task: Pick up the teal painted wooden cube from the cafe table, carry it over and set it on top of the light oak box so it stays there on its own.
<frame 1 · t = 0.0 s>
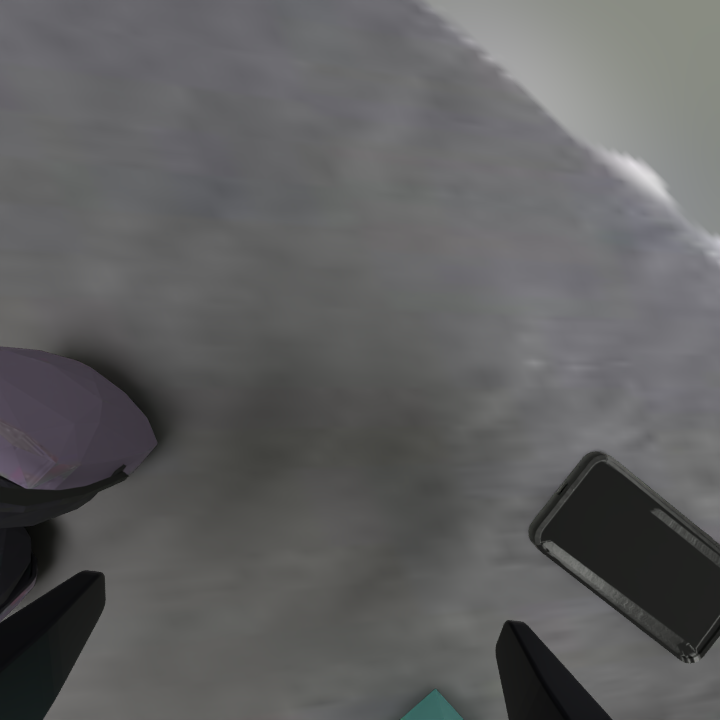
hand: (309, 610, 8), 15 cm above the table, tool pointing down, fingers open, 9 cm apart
phone: (632, 549, 26), on the table
headphones: (54, 471, 23), on the table
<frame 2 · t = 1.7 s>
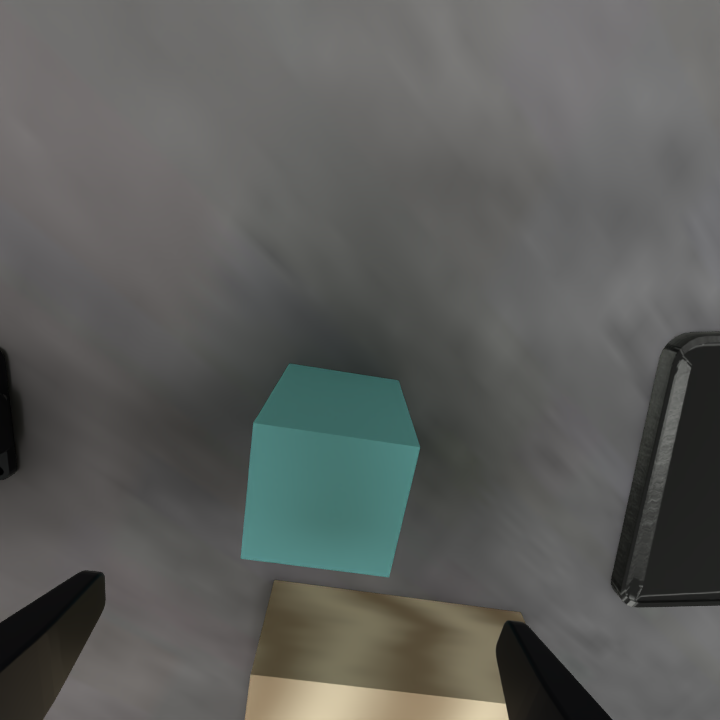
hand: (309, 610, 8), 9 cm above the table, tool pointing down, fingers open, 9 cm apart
phone: (701, 471, 19), on the table
oak box: (375, 677, 23), on the table
teal cube: (336, 421, 17), on the table
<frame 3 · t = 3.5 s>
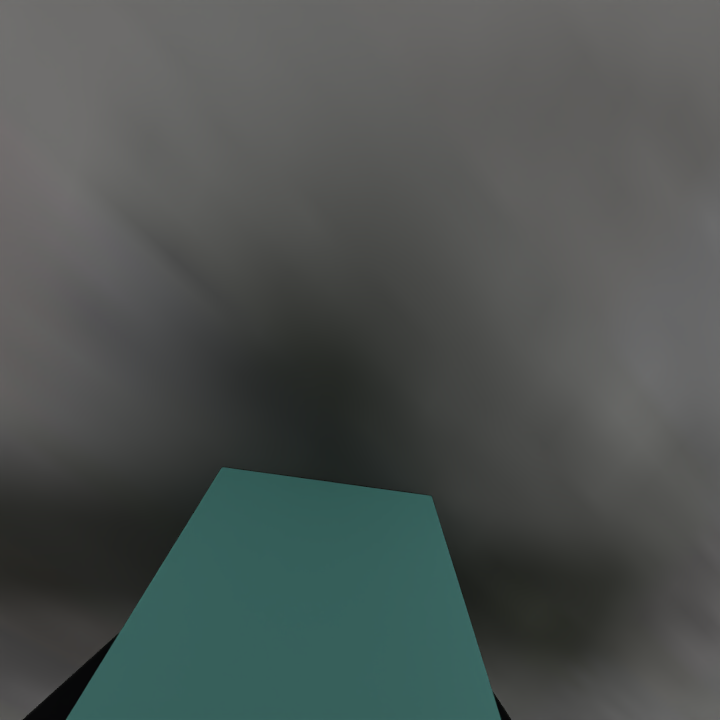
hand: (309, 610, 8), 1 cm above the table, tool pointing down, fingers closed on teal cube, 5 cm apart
teal cube: (314, 565, 9), on the table, touching gripper
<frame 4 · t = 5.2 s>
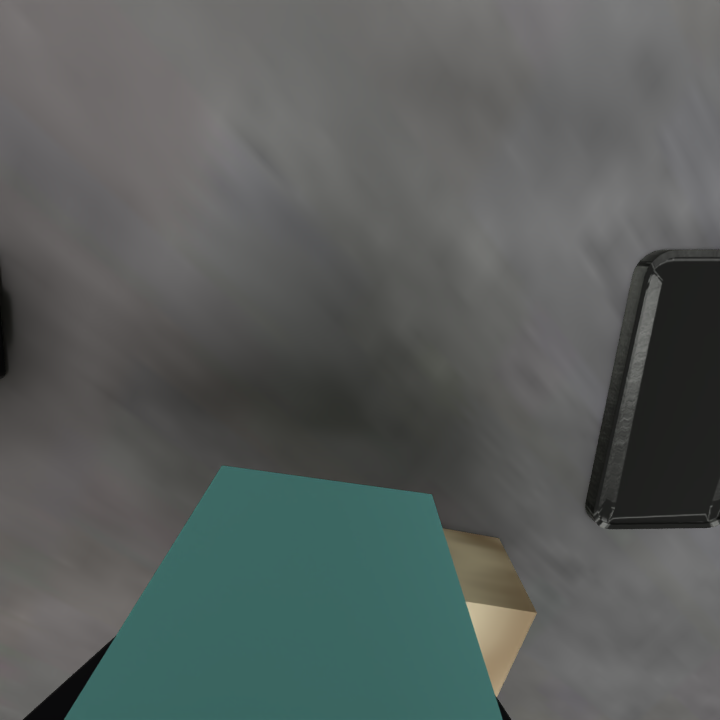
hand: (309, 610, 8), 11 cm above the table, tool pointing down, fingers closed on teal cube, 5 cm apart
phone: (672, 395, 20), on the table
oak box: (356, 603, 23), on the table
teal cube: (314, 563, 9), point 10 cm above the table, touching gripper
when the fingers open (8 cm above the table, at t = 7.3 s): teal cube drops 2 cm, point 5 cm above the table.
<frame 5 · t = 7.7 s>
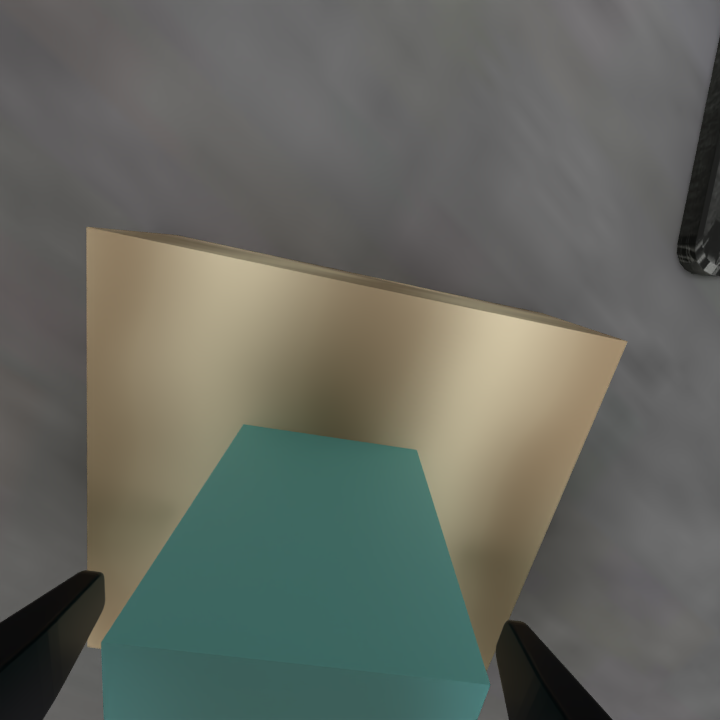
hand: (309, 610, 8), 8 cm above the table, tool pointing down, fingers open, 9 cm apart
oak box: (332, 435, 16), on the table
teal cube: (319, 510, 11), point 5 cm above the table
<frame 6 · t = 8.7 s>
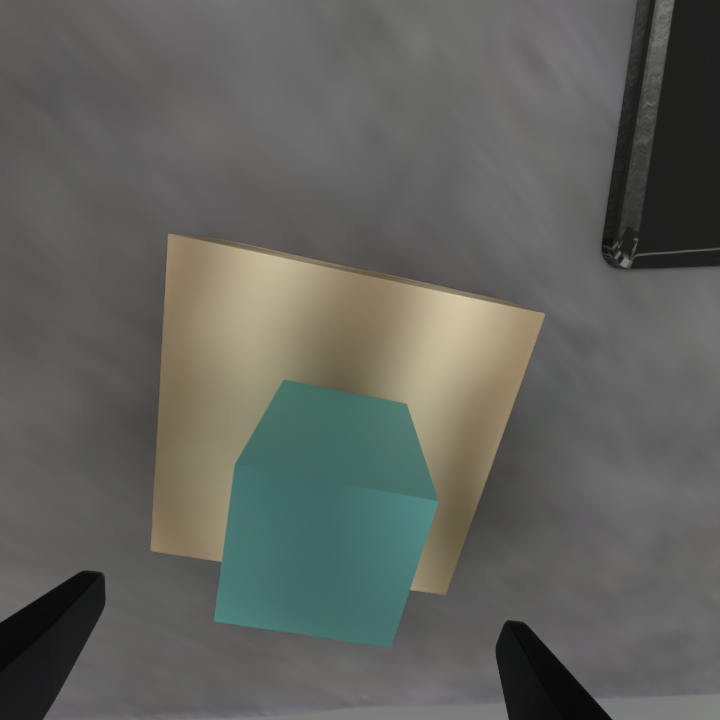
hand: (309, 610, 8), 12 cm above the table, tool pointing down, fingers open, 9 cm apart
phone: (704, 91, 16), on the table
oak box: (335, 397, 20), on the table, touching teal cube
teal cube: (334, 446, 15), point 5 cm above the table, touching oak box
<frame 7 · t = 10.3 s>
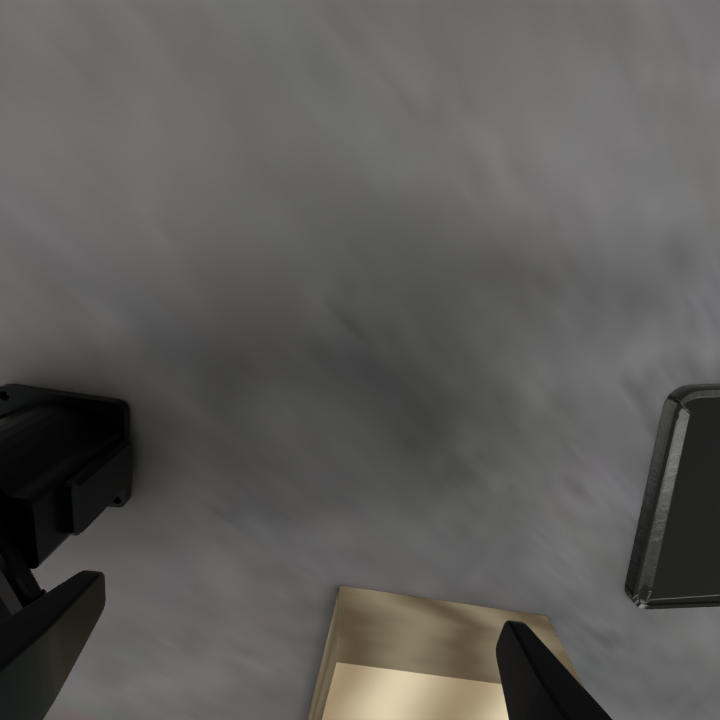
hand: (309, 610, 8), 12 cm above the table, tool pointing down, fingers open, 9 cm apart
phone: (700, 494, 22), on the table
oak box: (417, 669, 26), on the table, touching teal cube
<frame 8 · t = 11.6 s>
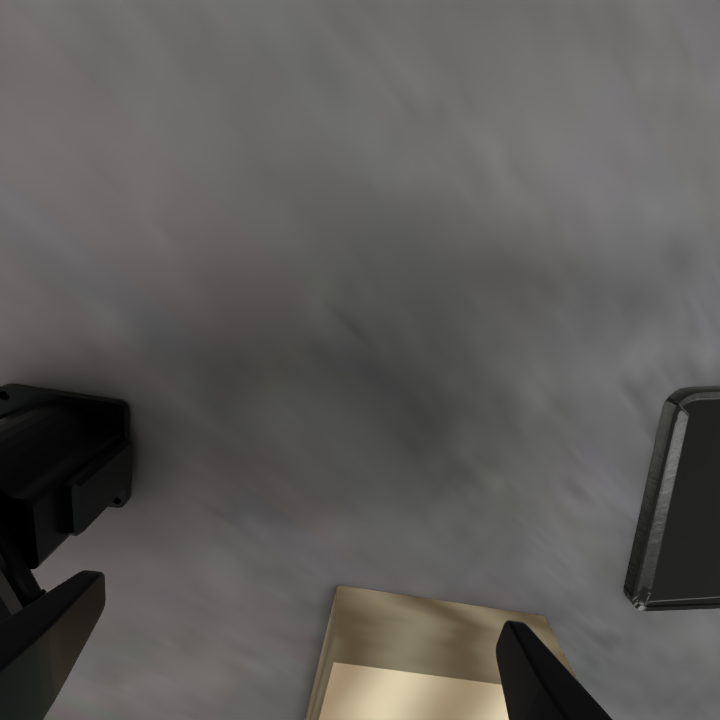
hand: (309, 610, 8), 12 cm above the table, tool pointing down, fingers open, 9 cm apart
phone: (698, 496, 22), on the table
oak box: (415, 669, 26), on the table, touching teal cube
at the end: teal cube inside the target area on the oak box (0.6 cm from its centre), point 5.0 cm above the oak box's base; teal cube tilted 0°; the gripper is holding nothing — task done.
